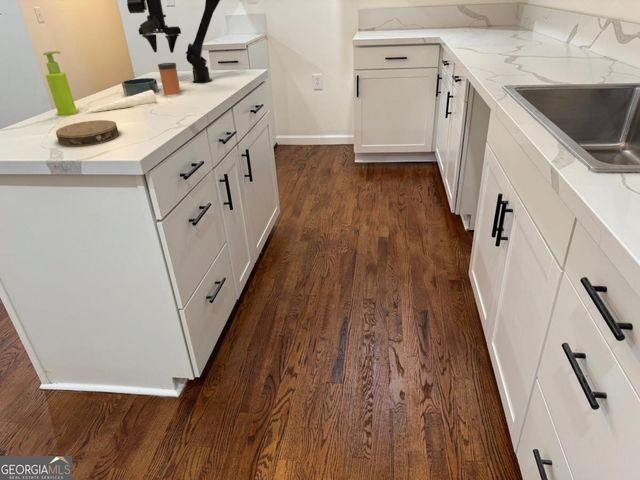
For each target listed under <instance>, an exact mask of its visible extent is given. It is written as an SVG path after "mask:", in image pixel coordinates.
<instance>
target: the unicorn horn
mask: <svg viewBox="0 0 640 480" xmlns="http://www.w3.org/2000/svg"><path fill="white" fill-rule="evenodd" d="M157 101H158V100H157V96H156V93H154V92H153V90H149V91H146V92H143V93H140V94H136V95H133V96H127V97H123V98H121V99H117V100H114V101H112V102H108V103H105V104H102V105H99V106H96V107H94V108H91V109H88V110H87V111H86V112H87V113H95V112H96V113H97V112H105V111H113V110H119V109H127V108H133V107H135V106H141V105H147V104H156V103H157Z"/></svg>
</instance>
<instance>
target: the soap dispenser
mask: <svg viewBox="0 0 640 480" xmlns="http://www.w3.org/2000/svg"><path fill="white" fill-rule="evenodd" d="M42 54H43V56H46V58H47V63H46V67H47V70H48V73H47V74H45V77H46V81H47V84H48V87H49V90H50V93H51V95H52V100H53V102H54V105H55V108H56V111H57V114H58V116H69V115H74V114H76V113H78V111H77V107H76V104H75V100H74V97H73V94H72V91H71V88H70V84H69V80H68V78H67V75H66V73H65V72H61V69H60V66H59V63H58V62H57V61H55V60H54V56H53V55H54V54H61V51H53V50H52V51H46V52H43V53H42Z"/></svg>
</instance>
